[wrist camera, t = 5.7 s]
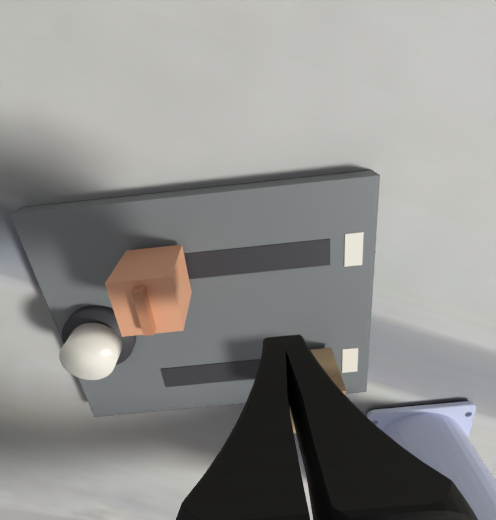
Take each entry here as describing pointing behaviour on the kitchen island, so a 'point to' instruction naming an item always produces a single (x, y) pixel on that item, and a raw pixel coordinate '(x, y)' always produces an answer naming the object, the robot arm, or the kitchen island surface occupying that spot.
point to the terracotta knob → (150, 291)
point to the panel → (216, 281)
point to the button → (91, 351)
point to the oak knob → (327, 370)
